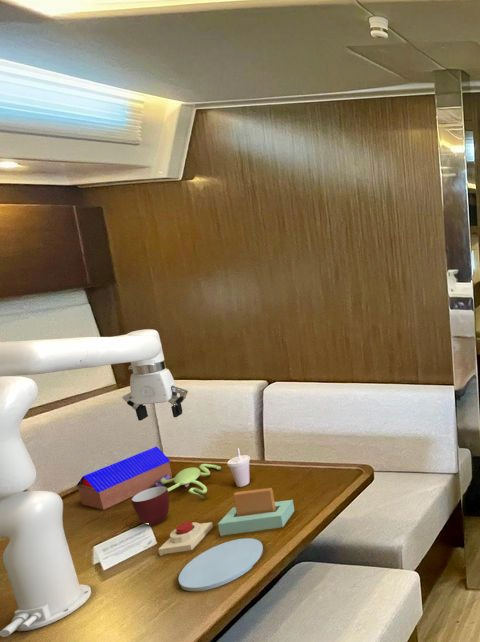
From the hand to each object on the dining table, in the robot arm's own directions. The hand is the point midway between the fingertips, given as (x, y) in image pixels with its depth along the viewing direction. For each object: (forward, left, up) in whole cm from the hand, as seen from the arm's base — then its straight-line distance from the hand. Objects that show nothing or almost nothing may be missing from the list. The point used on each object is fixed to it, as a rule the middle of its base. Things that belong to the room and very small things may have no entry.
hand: (160, 417), depth 148 cm
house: (+11, +22, -31) cm, 39 cm away
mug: (-11, +1, -31) cm, 33 cm away
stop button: (-24, -17, -27) cm, 40 cm away
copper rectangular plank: (-20, -33, -30) cm, 49 cm away
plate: (-37, -32, -31) cm, 58 cm away
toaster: (-20, -33, -31) cm, 50 cm away
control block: (-24, -16, -31) cm, 42 cm away
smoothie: (+6, -16, -31) cm, 35 cm away
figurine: (+6, +3, -31) cm, 31 cm away
